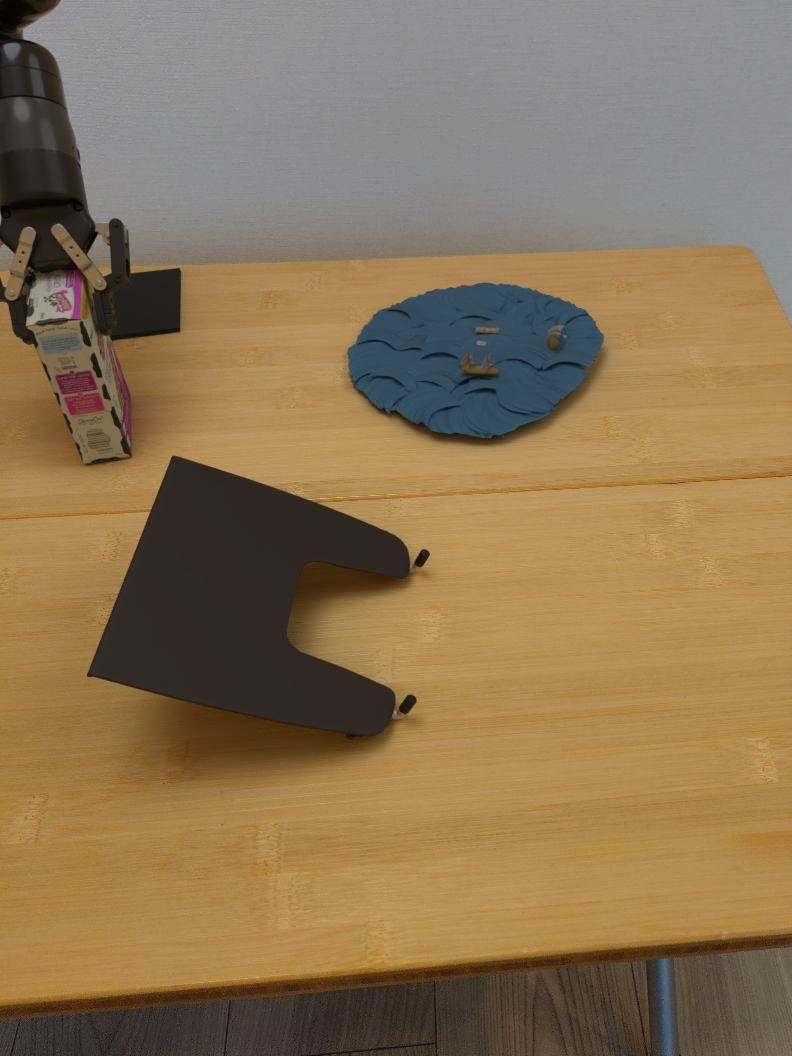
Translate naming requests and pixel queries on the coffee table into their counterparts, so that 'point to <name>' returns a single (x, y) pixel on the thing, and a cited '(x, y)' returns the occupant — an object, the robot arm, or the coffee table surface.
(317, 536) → the laptop tray
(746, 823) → the coffee table surface
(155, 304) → the mat
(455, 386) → the blue wavy sea disc
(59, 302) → the candy bar box
